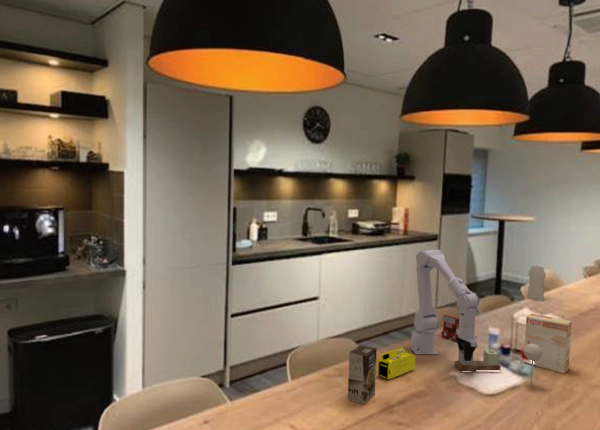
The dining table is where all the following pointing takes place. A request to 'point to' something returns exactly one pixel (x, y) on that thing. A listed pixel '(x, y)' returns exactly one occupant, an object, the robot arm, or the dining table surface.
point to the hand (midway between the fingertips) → (465, 358)
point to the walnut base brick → (476, 366)
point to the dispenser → (536, 283)
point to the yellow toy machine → (395, 363)
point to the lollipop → (533, 354)
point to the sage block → (490, 357)
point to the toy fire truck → (450, 327)
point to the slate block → (462, 360)
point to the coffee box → (362, 374)
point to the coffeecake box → (550, 341)
